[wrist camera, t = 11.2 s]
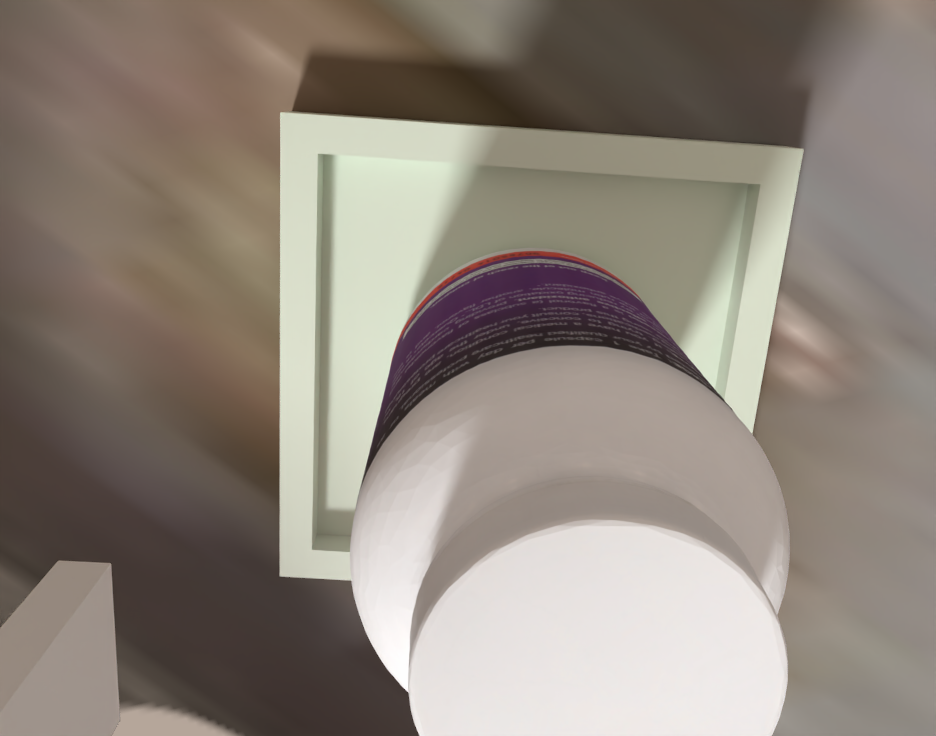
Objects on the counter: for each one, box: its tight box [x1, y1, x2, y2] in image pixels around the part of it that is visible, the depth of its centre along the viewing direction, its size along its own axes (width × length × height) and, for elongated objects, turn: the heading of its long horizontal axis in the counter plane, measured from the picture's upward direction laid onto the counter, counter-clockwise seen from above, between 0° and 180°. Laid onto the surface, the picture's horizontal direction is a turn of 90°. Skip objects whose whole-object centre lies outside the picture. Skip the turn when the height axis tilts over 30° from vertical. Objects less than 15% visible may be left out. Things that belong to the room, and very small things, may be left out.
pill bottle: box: [350, 248, 790, 736], centre depth 19 cm, size 8×8×14 cm
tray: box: [280, 111, 804, 581], centre depth 26 cm, size 14×14×2 cm
